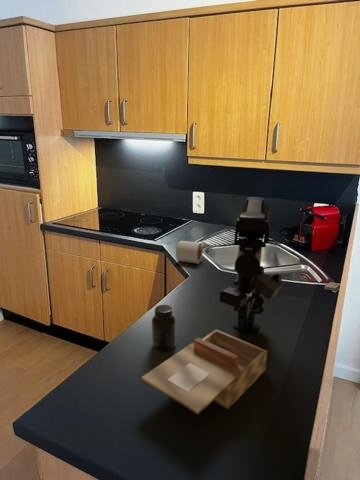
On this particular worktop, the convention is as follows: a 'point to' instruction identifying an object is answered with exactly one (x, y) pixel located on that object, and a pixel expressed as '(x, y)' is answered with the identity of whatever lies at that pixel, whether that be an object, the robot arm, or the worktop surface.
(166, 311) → the supplement bottle
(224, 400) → the mailer box
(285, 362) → the worktop surface
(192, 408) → the mailer lid
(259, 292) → the robot arm
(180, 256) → the toilet paper
